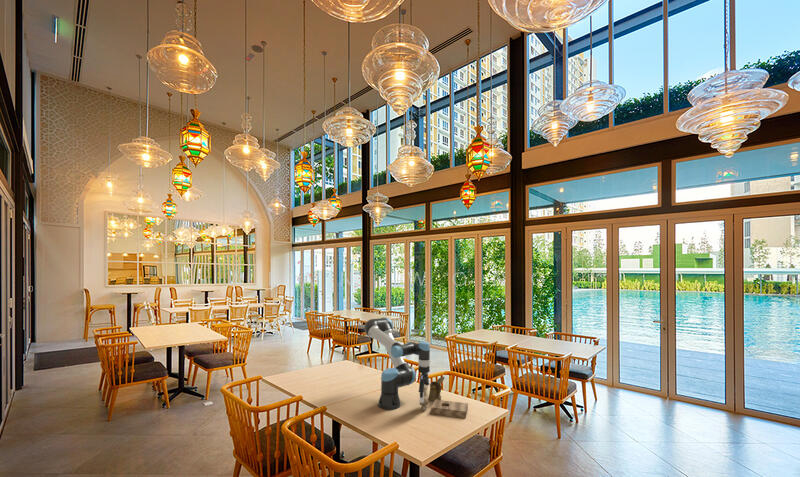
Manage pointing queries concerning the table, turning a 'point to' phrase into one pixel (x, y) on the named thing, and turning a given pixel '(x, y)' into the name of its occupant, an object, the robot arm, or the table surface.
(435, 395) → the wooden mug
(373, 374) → the table surface
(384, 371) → the robot arm
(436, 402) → the board
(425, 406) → the dowel
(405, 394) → the table surface
